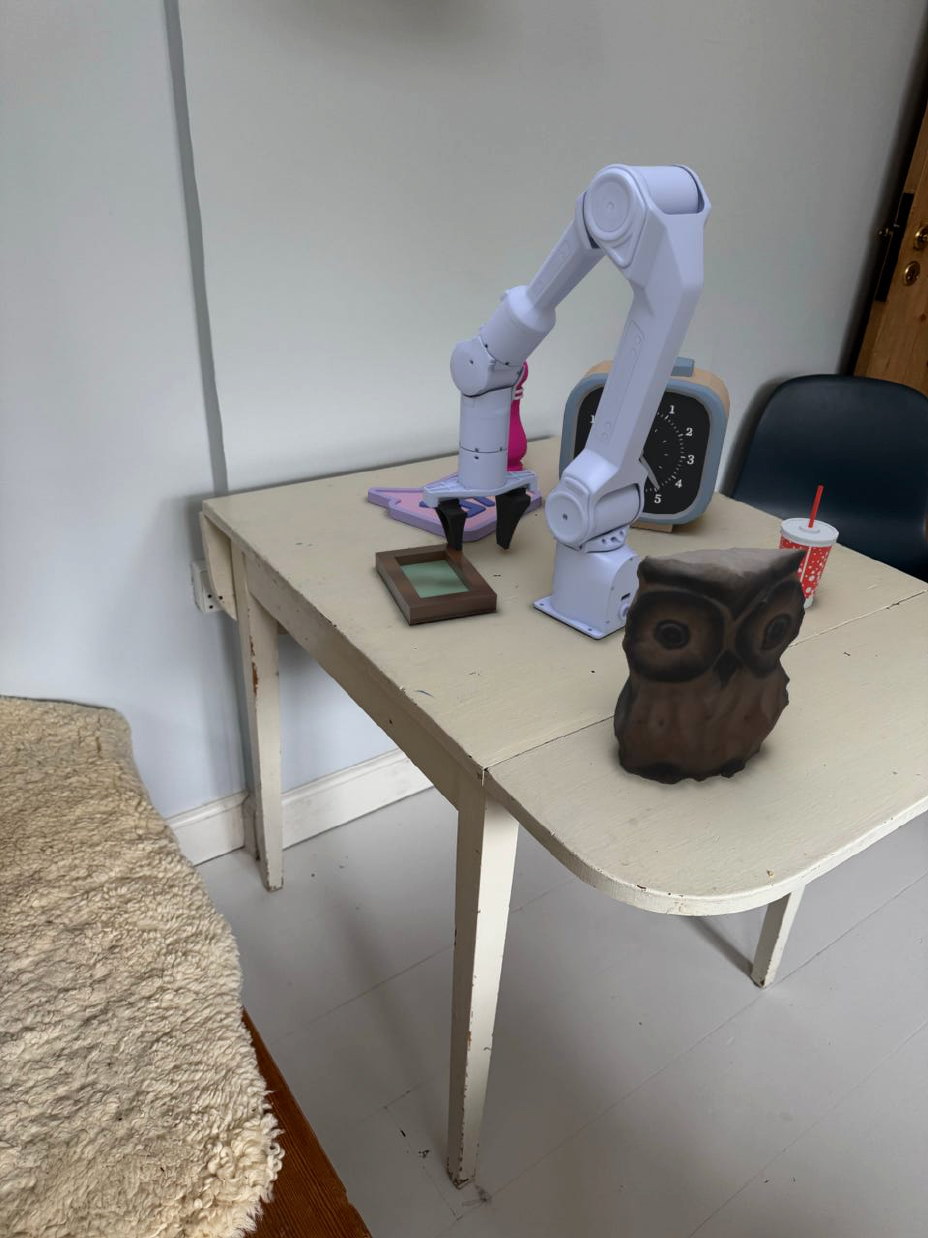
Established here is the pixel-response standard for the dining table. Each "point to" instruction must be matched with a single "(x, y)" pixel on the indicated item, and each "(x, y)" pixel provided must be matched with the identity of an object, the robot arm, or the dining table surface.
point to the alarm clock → (663, 440)
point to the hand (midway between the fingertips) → (478, 550)
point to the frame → (434, 583)
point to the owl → (706, 660)
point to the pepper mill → (517, 430)
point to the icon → (415, 512)
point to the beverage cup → (809, 547)
